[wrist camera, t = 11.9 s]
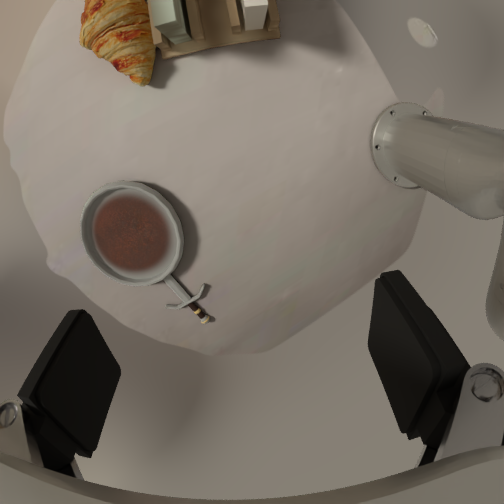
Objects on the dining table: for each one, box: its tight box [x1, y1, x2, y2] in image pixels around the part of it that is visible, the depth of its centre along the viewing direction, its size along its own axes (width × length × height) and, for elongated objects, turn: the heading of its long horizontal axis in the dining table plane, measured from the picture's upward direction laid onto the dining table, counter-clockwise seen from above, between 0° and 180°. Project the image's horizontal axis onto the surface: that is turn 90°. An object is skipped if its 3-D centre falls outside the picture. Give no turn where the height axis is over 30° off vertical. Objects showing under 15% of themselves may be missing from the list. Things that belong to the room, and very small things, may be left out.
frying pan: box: [80, 180, 210, 324], centre depth 44 cm, size 17×3×28 cm
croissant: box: [80, 0, 156, 86], centre depth 26 cm, size 21×10×8 cm, turn 25°
